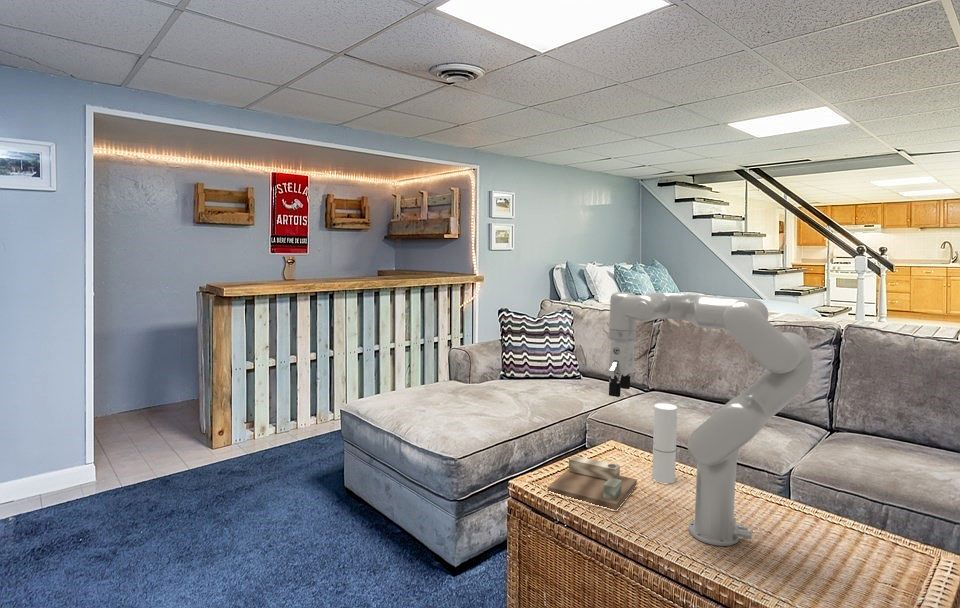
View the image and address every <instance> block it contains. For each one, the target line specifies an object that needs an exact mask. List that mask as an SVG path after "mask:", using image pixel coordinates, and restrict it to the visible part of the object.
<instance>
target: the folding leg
mask: <svg viewBox="0 0 960 608" xmlns="http://www.w3.org/2000/svg"><path fill="white" fill-rule="evenodd" d="M568 469H569V471H571V472H575V473H579V474H584V475H588V476H592V477H597V478H601V479H605V480H609V479H610V478H614V479H619V477H620V476H621V475H620V474H621V471H620V470H621V465H620V464H615V463H610V462H605V461H600V460H597V459H592V458H586V457H582V456H577V455H572V456H571V457H570V458H569V459H568Z"/></svg>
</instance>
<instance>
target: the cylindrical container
mask: <svg viewBox="0 0 960 608" xmlns="http://www.w3.org/2000/svg"><path fill="white" fill-rule="evenodd" d="M677 427H678V406H677V405H675V404H671V403H664V402H663V403H662V402H661V403H660V402H659V403H655V404H654V406H653V433H652V434H653V435H652V436H653V440H652V441H653V442H652V468H651V469H652V473H651V477H653V479H655V480H656V481H659V482H662V483H672V482H674V481H676V456H677V455H676V454H677ZM653 479H652V480H653ZM674 483H675V482H674Z"/></svg>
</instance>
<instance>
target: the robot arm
mask: <svg viewBox="0 0 960 608" xmlns="http://www.w3.org/2000/svg"><path fill="white" fill-rule="evenodd" d="M609 303H610V305H609V307H610V308H609V326H608V327H609V328H608V340H609V341H611V342H610V350H609V359H608V360H609V361H608V370H609V371H608V372H609V375H608V376H609V380H608V382H609V383H608V384H609V386H608V396H610V397H613V398H614V397H616V398H620V397H621V389H622V390H623V389H624V390H630V389H631V374H632V372H633V371H634V369H635V343H634V342H636V337H637V336H636V334H637V333H636V332H637V321H640V322H648V323H649V322H651V321H655V320H658V319H664V320H665V319H667V320H676V321H677V320H679V321H685V322H689V323H691V324H693V325H694V326H695V327H698V328H700V329H701V328H702V329H711V330H712V329H713V330H723V331H727V332H728V333H729V334H730V335H731V336H732V338H733V339H734V340H735V341H736V342H737V343H738V344H739V345H740V346H741V347H742V348H743V349H745V351H746V352H747V353H748V354H750V356H751V357H752V358H753V359H754V360H755V361H756V362H757V363H758V364H759V365H761V367H763V368H764V369H765V370H766V371H765V373H764V374H763V375H762V376H760V377H759V378H758V379H757V380H756V381H755V382H753V384H752V385H751V384H750V386H749V387H748V388H746V389H745V390H744V391H743V392H741V393H740V394H738V395H736V396H735V397H733V398H732V399H730V400H729V401H728V402H726V403H725V404H724V405H723V406H721V408H719V409H718V410H717V411H716V412H714V413H713V414H712V415H711V416H709V418H708V419H706V420H705V421H704V422H703V423H702V424H700V425H699V426H698V427H697V428H696V429H694V430H693V431H692V432H691V433H690V435H689V437H688V439H687V445H686V446H687V450H688V453H689V456H690V457H691V459H692V460H693V461H694V462H696V463H697V464H696V475H695V476H696V478H695V481H696V482H695V502H694V504H695V505H694V506H695V507H694V509H695V511H694V519H693V520H691V521H690V522H689V523H688V527H687V528H688V532H689V534H690V535H691V536H692V537H694V538H695V539H696V540H698V541H700V542H702V543H705V544H709V545H713V546H718V547H720V546H721V547H727V546H733V545H734V544H737V543H738V542H739V541H740V537H742V538H745V539H749V540H752V535H753V532H752V531H751V530H749V527H748V526H744V525H739V523H737V518H736V517H735V516H734V515H735V492H736V477H737V463H738V456H739V450H740V449H741V448H742V447H743V446H745V445H746V444H747V443H749V442H750V441H751V440H752V439H754V437H756V436H757V434H759V432H761V430H762V429H763V428H764V426H765V425H766V424H767V422H768V421H770V419H772V418H773V417H774V416H776V414H778V413H779V412H781V410H783V408H785V407H786V406H787V405H788V404H789V403H791V402H792V401H794V400H795V398H797V396H798V395H799V394H800V393H801V392H803V390H804V389H805V387H806V386H807V384H808V382H809V381H810V379H811V376H812V372H813V366H814V359H813V355H812V351H811V347H810V345H809V344H808V343H807V342H808V341H806V340H805V339H804V338H803V336H801V335H799V334H797V333H795V332H791V331H790V332H788V331H786V332H785V331H784V332H780V330H778V329H777V328H776V327H775V326H774V325H773V324H772V323H771V322H770V321H769V311H768V308H767V306H766V305H765V303H763V302H762V301H760V300H758V299H754V298H749V297H748V298H745V297H731V296H729V297H728V296H718V295H717V296H714V295H701V294H686V293H675V292H672V293H671V292H650V293H646V294H637V295H636V293H633V292H629V291H628V292H626V291H625V292H623V291H620V292H619V291H618V292H616V291H615V292H614V293H612V294H611V295H610V301H609Z"/></svg>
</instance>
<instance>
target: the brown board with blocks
mask: <svg viewBox="0 0 960 608" xmlns="http://www.w3.org/2000/svg"><path fill="white" fill-rule="evenodd" d="M637 482H638V480H637V479H635V478H633V477H627V476H623V475H620V477H619V479H614V478H610V479H609V480H605V479H601V478H597V477H592V476H588V475H584V474H579V473H575V472H571V471H569V468H568V469H566V471H565V472H563V473H562V474H561V475H560V476H558V477H557V478H556V479H555V480H553V482H551V483H550V484H549V485H548V486H547V492H548V491H551V492H554V493H558V494H561V495H564V496H567V497H571V498H574V499H578V500H582V501H586V502H589V503H592V504H595V505H599V506H603V507H607V508H610V509H614V510H617V509H618V508H619V507H620V505H621V504H622V503H623V502H624V501H625V499H626V498H627V497H628V495H629V494H630V493H631V492H632V490H633V489H634V488H635V486H636V485H637V484H638V483H637ZM637 486H638V485H637ZM635 489H636V488H635ZM632 493H633V492H632ZM632 493H631V494H632ZM628 498H629V497H628ZM628 498H627V499H628ZM625 502H626V501H625ZM625 502H624V503H625ZM620 508H621V507H620Z"/></svg>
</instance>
